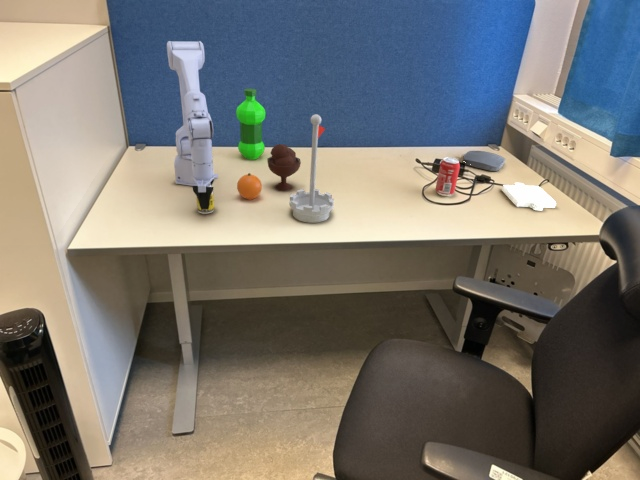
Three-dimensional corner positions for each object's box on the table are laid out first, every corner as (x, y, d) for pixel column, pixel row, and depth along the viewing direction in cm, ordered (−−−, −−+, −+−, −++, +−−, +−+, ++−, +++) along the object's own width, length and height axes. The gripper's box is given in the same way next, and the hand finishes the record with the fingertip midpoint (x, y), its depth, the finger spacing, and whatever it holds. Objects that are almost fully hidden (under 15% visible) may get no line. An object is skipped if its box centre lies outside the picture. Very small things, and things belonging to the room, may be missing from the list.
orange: (234, 200, 145) (233, 176, 141) (242, 191, 152) (241, 167, 148) (257, 204, 144) (257, 180, 140) (264, 194, 151) (264, 170, 147)
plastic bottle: (232, 155, 179) (229, 88, 166) (255, 150, 185) (254, 85, 172) (247, 164, 172) (246, 94, 160) (270, 158, 179) (270, 91, 166)
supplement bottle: (200, 215, 136) (197, 188, 131) (195, 208, 139) (193, 182, 135) (216, 212, 138) (214, 186, 133) (211, 205, 141) (209, 180, 137)
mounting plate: (499, 187, 167) (500, 182, 166) (534, 188, 168) (535, 183, 167) (519, 210, 152) (521, 204, 151) (558, 211, 152) (560, 206, 151)
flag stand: (317, 228, 133) (324, 124, 118) (280, 215, 139) (282, 114, 124) (340, 212, 143) (349, 114, 128) (304, 200, 148) (309, 105, 133)
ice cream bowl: (295, 196, 151) (297, 151, 143) (262, 191, 153) (262, 147, 145) (303, 183, 160) (305, 140, 152) (272, 179, 162) (272, 136, 154)
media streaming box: (497, 173, 178) (498, 166, 177) (459, 164, 185) (461, 157, 183) (505, 162, 189) (507, 155, 188) (470, 154, 196) (471, 147, 194)
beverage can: (455, 192, 161) (462, 159, 155) (451, 198, 156) (459, 165, 150) (437, 188, 163) (443, 155, 157) (432, 194, 158) (439, 161, 152)
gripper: (215, 170, 125) (218, 215, 132) (218, 151, 137) (220, 193, 144) (188, 170, 124) (192, 216, 131) (193, 151, 136) (196, 194, 143)
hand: (205, 204), depth 137 cm, fingers closed on supplement bottle, 5 cm apart
